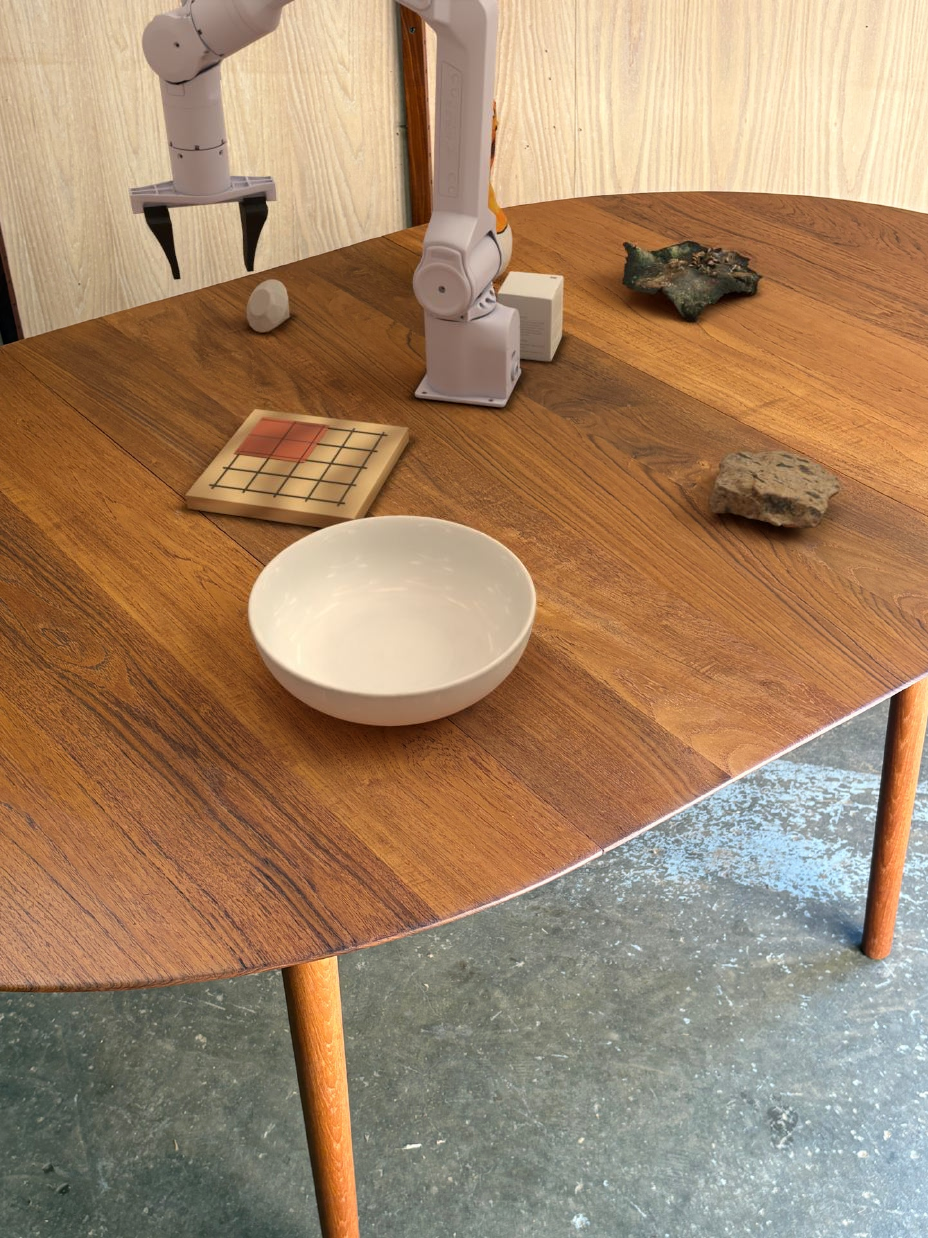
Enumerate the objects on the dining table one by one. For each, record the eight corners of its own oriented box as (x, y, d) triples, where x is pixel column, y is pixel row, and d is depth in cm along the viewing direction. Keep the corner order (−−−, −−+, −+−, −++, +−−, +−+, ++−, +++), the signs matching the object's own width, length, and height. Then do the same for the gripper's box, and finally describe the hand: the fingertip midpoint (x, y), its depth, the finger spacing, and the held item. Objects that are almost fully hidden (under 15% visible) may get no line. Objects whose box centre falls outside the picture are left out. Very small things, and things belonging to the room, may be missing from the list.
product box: (509, 332, 136) (509, 269, 132) (563, 337, 135) (565, 274, 130) (496, 356, 132) (495, 292, 127) (551, 362, 130) (552, 298, 126)
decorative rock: (669, 213, 152) (785, 227, 145) (667, 262, 155) (780, 278, 148) (598, 256, 139) (722, 273, 132) (597, 308, 142) (718, 328, 135)
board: (409, 440, 118) (408, 426, 117) (355, 532, 106) (353, 517, 105) (256, 421, 122) (254, 407, 121) (187, 508, 110) (184, 494, 109)
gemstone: (316, 293, 139) (286, 277, 134) (301, 345, 139) (272, 331, 135) (277, 288, 142) (248, 273, 138) (263, 339, 142) (233, 326, 138)
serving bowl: (309, 802, 82) (298, 728, 78) (228, 624, 97) (215, 553, 93) (583, 713, 88) (587, 640, 84) (467, 558, 103) (466, 489, 99)
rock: (848, 485, 110) (857, 444, 108) (817, 550, 103) (825, 507, 100) (735, 460, 114) (740, 420, 112) (697, 520, 107) (701, 479, 104)
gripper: (263, 122, 125) (274, 249, 134) (118, 133, 121) (139, 263, 130) (275, 144, 120) (286, 276, 128) (124, 157, 116) (146, 291, 125)
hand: (212, 271), depth 129 cm, fingers open, 7 cm apart
